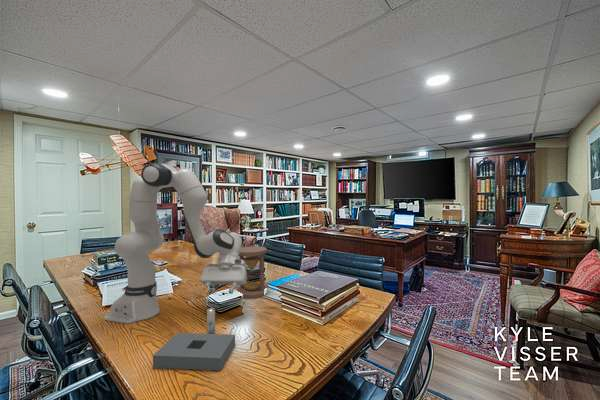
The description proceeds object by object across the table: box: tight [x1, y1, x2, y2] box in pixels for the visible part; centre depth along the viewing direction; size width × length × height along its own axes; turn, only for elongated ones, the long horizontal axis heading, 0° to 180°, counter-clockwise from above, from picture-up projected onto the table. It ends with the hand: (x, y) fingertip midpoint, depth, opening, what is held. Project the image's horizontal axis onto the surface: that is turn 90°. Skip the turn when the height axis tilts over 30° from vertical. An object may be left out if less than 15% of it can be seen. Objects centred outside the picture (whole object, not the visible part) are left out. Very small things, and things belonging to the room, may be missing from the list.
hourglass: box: [236, 245, 268, 300], centre depth 149 cm, size 18×18×25 cm
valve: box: [206, 287, 229, 298], centre depth 135 cm, size 7×7×12 cm
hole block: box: [152, 332, 236, 372], centre depth 89 cm, size 22×14×4 cm, turn 85°
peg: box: [206, 307, 216, 334], centre depth 103 cm, size 3×3×10 cm
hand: (219, 293), depth 112 cm, fingers open, 8 cm apart
